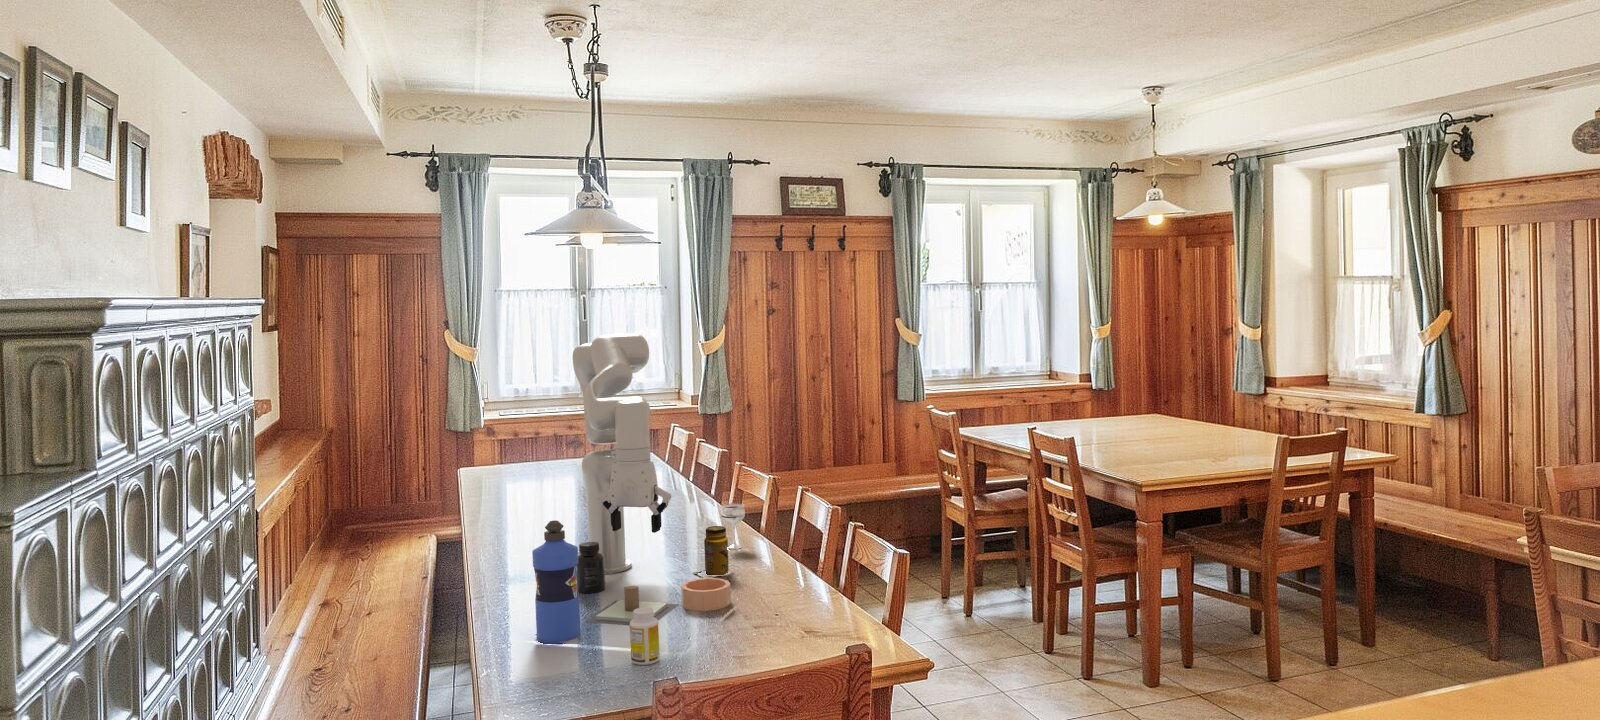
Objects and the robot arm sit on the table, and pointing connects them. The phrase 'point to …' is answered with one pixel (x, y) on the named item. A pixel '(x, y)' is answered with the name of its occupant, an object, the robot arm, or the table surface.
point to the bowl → (706, 594)
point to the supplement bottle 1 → (590, 569)
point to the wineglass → (733, 517)
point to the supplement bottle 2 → (644, 637)
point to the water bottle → (556, 587)
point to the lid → (628, 606)
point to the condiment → (716, 551)
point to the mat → (658, 617)
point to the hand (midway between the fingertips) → (636, 530)
